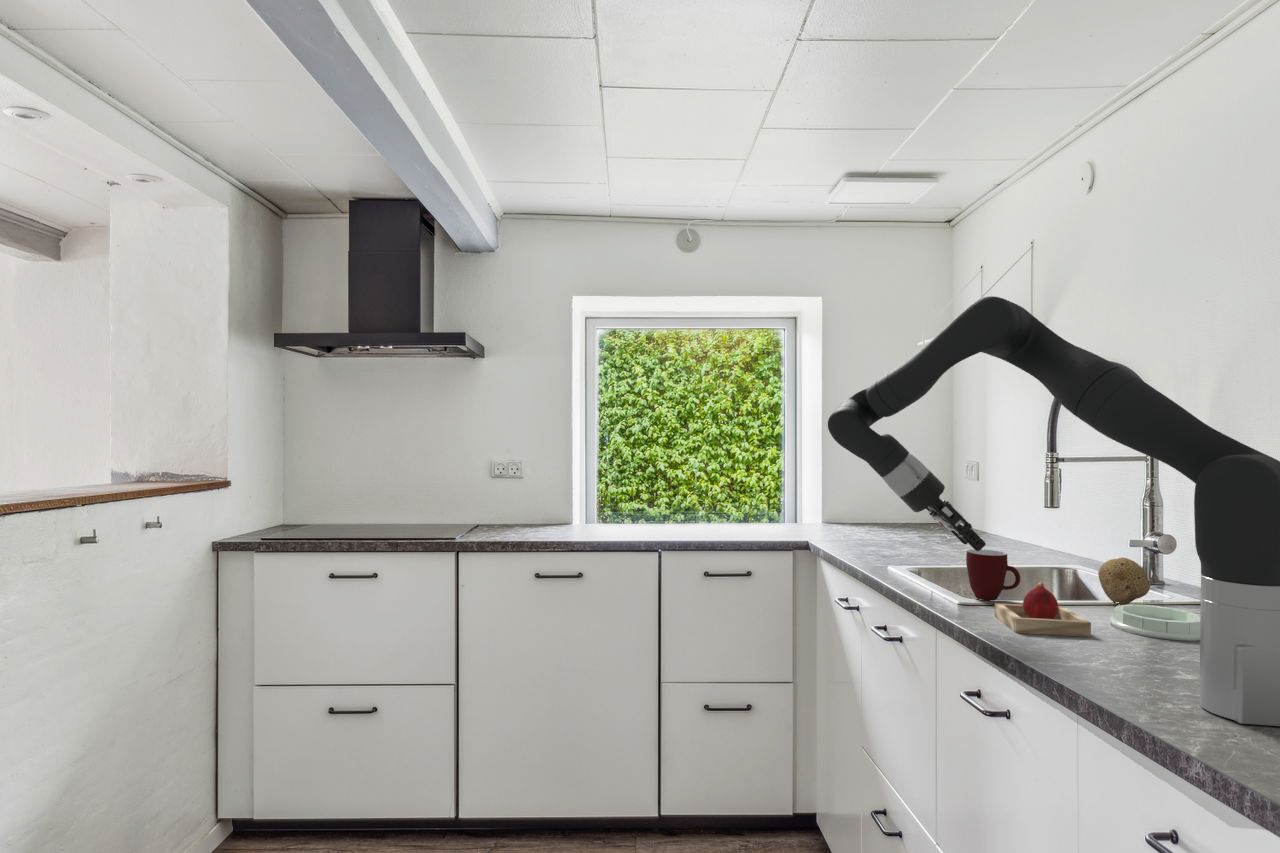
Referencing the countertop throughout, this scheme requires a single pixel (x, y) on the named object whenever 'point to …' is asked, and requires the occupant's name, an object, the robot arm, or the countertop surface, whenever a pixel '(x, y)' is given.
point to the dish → (1157, 622)
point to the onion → (1040, 603)
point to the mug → (989, 573)
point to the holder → (1042, 621)
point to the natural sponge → (1123, 580)
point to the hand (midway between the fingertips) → (975, 544)
